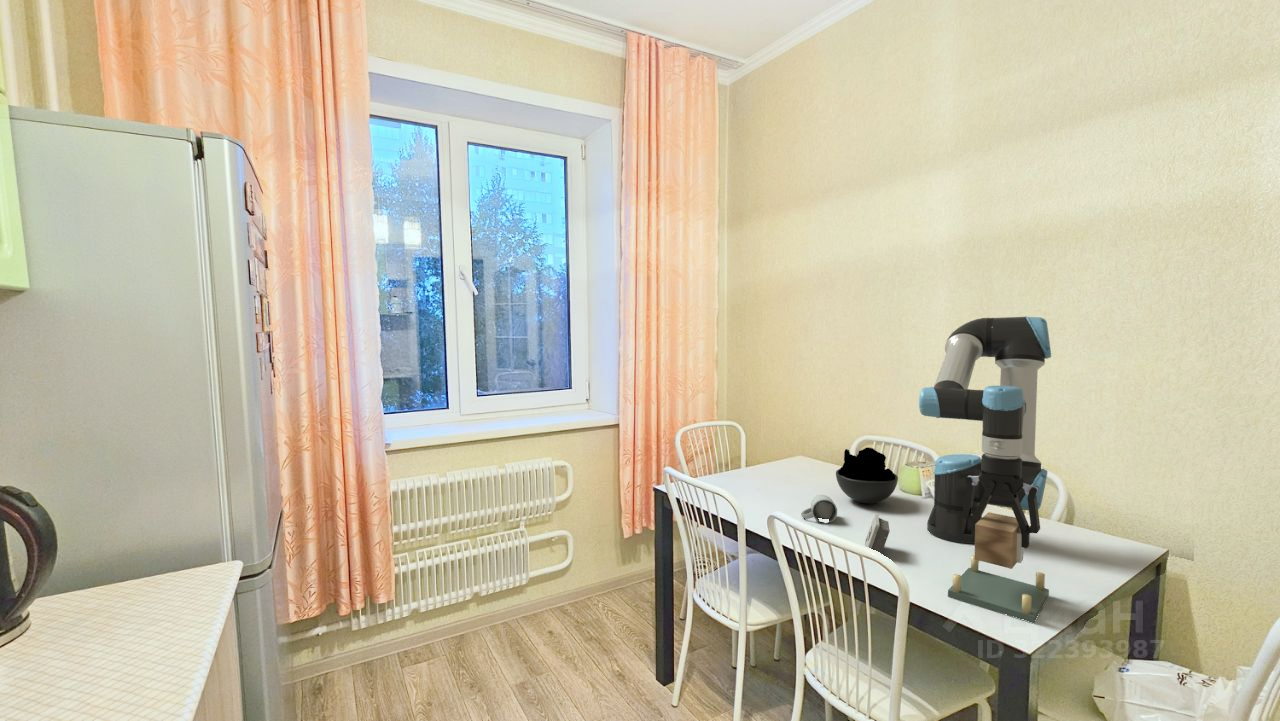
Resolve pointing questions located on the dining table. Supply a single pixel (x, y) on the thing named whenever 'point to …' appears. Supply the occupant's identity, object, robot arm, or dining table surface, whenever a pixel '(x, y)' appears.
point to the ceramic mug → (821, 509)
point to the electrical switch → (877, 534)
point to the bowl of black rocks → (866, 477)
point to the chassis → (1000, 592)
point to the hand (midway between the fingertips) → (999, 555)
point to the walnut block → (996, 540)
